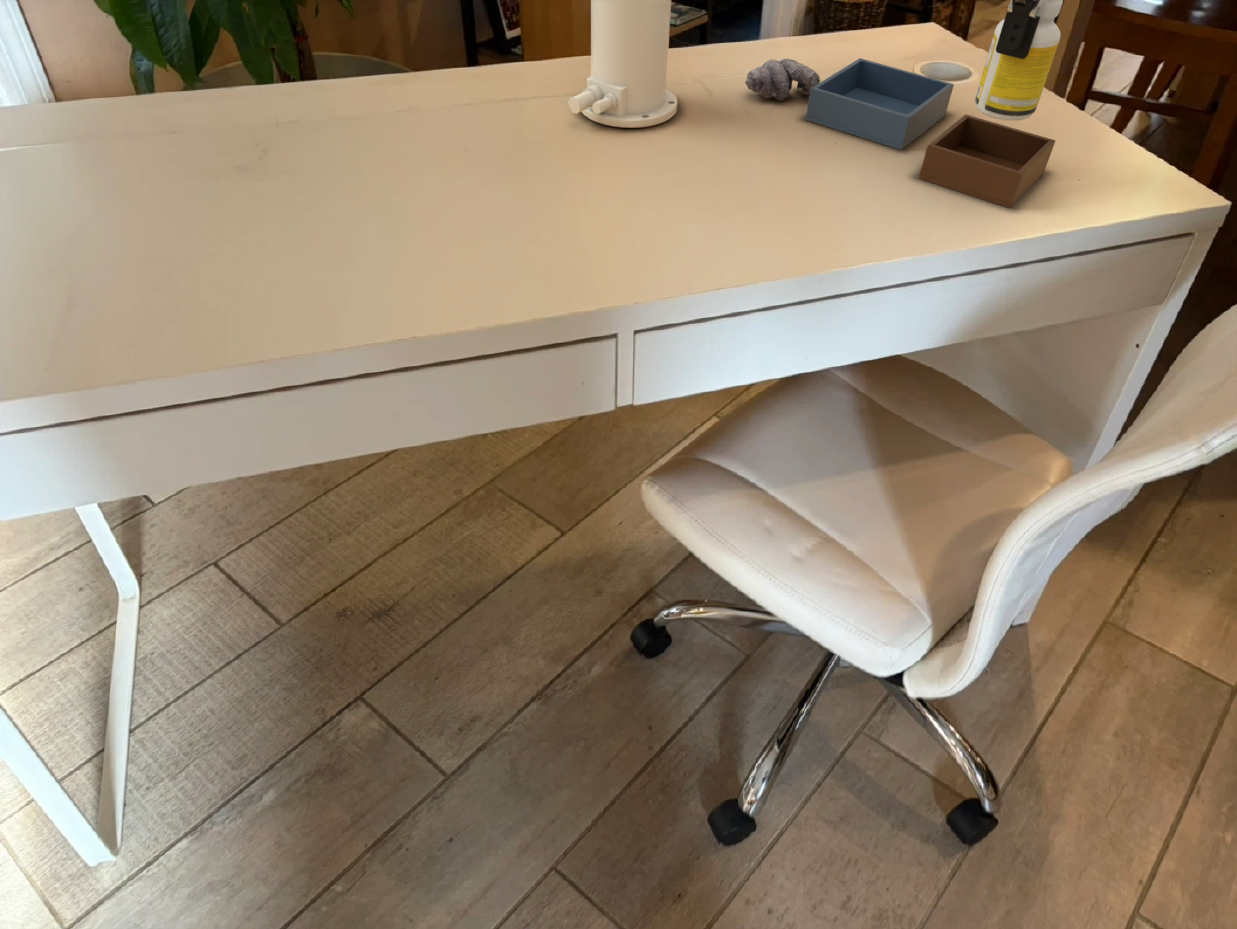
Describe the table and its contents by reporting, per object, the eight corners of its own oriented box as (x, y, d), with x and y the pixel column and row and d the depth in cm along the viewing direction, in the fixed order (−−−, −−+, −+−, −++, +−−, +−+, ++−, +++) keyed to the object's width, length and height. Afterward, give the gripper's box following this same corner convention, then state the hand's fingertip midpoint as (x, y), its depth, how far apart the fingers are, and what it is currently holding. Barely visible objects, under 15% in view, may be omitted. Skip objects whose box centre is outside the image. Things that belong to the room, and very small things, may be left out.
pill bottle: (1041, 124, 97) (1082, 8, 89) (981, 122, 97) (1016, 6, 89) (1023, 99, 102) (1060, -13, 94) (966, 97, 102) (998, -15, 94)
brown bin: (1009, 208, 99) (1022, 174, 96) (918, 178, 104) (927, 144, 101) (1043, 173, 105) (1055, 140, 103) (955, 146, 110) (965, 113, 107)
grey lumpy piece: (812, 101, 122) (741, 109, 120) (807, 60, 121) (736, 67, 119) (828, 89, 116) (755, 97, 115) (823, 46, 116) (749, 54, 114)
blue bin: (901, 150, 109) (909, 117, 106) (805, 119, 115) (810, 87, 112) (945, 115, 117) (954, 83, 114) (853, 88, 122) (859, 57, 119)
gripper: (1078, -179, 89) (1018, 15, 101) (1014, -152, 79) (956, 60, 91) (1158, -168, 85) (1085, 31, 98) (1102, -138, 75) (1029, 79, 88)
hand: (1024, 43), depth 94 cm, fingers closed on pill bottle, 6 cm apart
